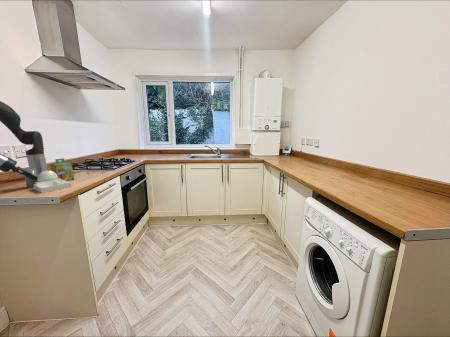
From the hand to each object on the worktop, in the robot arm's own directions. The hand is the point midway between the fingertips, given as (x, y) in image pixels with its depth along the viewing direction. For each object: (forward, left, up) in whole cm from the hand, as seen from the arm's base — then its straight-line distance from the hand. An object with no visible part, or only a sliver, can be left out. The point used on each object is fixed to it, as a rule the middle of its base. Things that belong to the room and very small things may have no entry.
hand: (35, 178), depth 117 cm
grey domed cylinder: (0, -2, -5) cm, 5 cm away
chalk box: (-3, +14, -5) cm, 15 cm away
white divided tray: (+14, +4, -5) cm, 15 cm away
